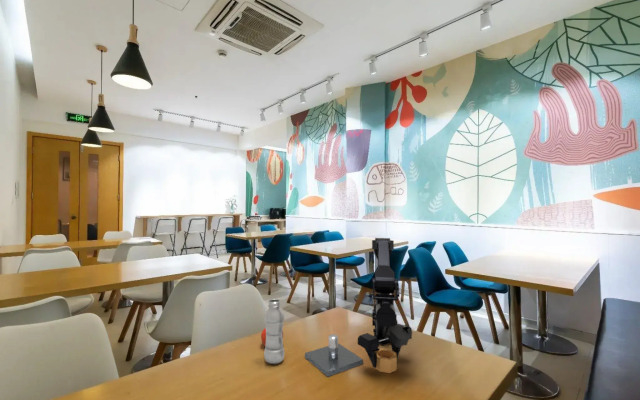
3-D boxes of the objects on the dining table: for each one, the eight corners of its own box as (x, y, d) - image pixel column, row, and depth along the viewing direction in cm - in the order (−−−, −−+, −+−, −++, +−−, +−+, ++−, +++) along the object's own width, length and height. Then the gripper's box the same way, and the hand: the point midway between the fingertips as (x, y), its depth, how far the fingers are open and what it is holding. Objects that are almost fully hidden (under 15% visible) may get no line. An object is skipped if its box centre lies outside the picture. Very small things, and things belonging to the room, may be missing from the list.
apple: (286, 347, 109) (286, 325, 109) (266, 353, 104) (266, 330, 104) (277, 339, 115) (277, 318, 115) (257, 344, 111) (257, 323, 111)
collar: (385, 358, 100) (385, 346, 100) (401, 368, 94) (401, 355, 94) (369, 364, 96) (369, 352, 96) (385, 374, 90) (385, 361, 90)
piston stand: (338, 347, 108) (337, 325, 109) (363, 364, 97) (363, 339, 97) (304, 357, 101) (304, 333, 101) (327, 376, 89) (327, 350, 89)
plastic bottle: (280, 367, 94) (280, 304, 95) (260, 365, 96) (261, 303, 96) (286, 357, 101) (287, 298, 101) (268, 356, 102) (268, 297, 103)
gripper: (381, 328, 84) (381, 385, 83) (424, 316, 94) (425, 366, 93) (356, 316, 93) (356, 367, 93) (397, 306, 103) (398, 352, 103)
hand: (385, 363), depth 95 cm, fingers open, 9 cm apart
